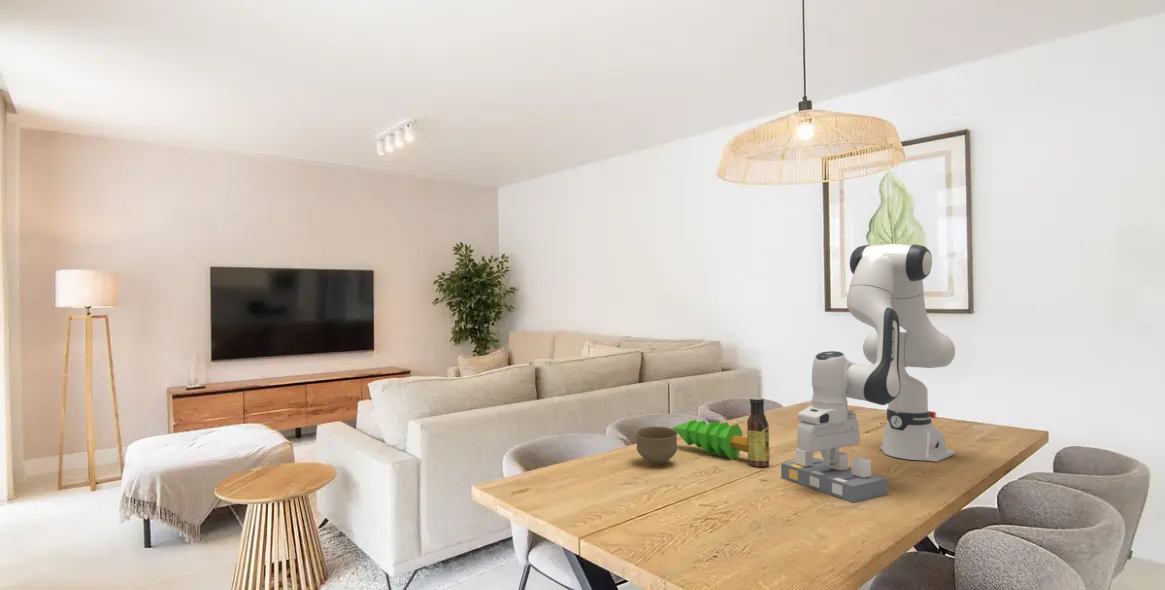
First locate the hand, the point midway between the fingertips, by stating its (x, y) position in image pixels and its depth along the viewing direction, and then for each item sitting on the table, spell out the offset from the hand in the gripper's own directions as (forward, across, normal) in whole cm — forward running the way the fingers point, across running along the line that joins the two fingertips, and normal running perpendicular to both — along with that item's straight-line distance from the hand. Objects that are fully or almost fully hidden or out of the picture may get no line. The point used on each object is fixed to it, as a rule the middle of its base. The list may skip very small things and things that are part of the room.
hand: (829, 464), depth 158 cm
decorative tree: (+6, +6, -41) cm, 42 cm away
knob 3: (+1, -3, +7) cm, 8 cm away
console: (+6, -1, 0) cm, 6 cm away
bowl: (+6, +28, -39) cm, 49 cm away
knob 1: (+1, +2, -7) cm, 7 cm away
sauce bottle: (+6, +2, -24) cm, 24 cm away
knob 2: (+1, -3, 0) cm, 4 cm away
